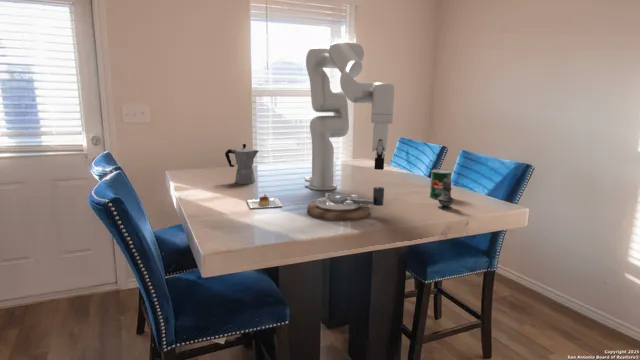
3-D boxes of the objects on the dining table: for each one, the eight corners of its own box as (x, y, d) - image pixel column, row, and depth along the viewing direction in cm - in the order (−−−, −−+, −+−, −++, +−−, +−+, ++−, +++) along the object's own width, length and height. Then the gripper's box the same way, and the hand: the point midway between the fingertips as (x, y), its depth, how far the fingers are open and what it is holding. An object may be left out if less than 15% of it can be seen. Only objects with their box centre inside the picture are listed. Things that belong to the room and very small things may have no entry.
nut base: (295, 215, 145) (295, 208, 145) (323, 201, 164) (323, 195, 164) (356, 224, 136) (356, 217, 135) (377, 208, 155) (378, 202, 155)
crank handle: (310, 209, 144) (310, 188, 143) (322, 198, 159) (322, 179, 158) (380, 215, 138) (380, 193, 136) (386, 203, 153) (386, 183, 152)
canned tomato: (444, 195, 177) (446, 169, 175) (453, 199, 169) (455, 172, 167) (426, 195, 176) (428, 169, 174) (434, 200, 168) (436, 172, 166)
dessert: (249, 210, 152) (249, 197, 151) (246, 202, 163) (246, 190, 162) (283, 208, 155) (282, 196, 154) (277, 201, 166) (277, 189, 165)
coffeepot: (258, 179, 205) (257, 142, 201) (260, 183, 196) (259, 144, 192) (225, 180, 201) (224, 143, 198) (226, 184, 192) (224, 145, 189)
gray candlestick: (434, 206, 159) (436, 174, 157) (450, 205, 159) (452, 174, 157) (440, 210, 153) (442, 177, 151) (456, 210, 154) (458, 177, 151)
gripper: (371, 116, 157) (369, 162, 161) (370, 120, 141) (367, 170, 144) (392, 117, 156) (389, 163, 160) (392, 121, 140) (389, 172, 143)
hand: (379, 166), depth 152 cm, fingers open, 9 cm apart
